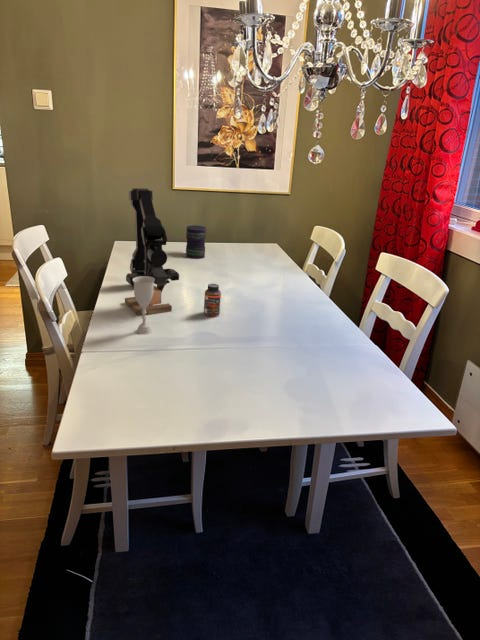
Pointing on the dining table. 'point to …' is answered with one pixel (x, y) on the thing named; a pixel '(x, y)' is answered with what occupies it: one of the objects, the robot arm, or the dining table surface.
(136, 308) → the notched board
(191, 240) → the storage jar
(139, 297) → the chalice
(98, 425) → the dining table surface
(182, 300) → the dining table surface
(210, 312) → the supplement bottle
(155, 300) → the block
